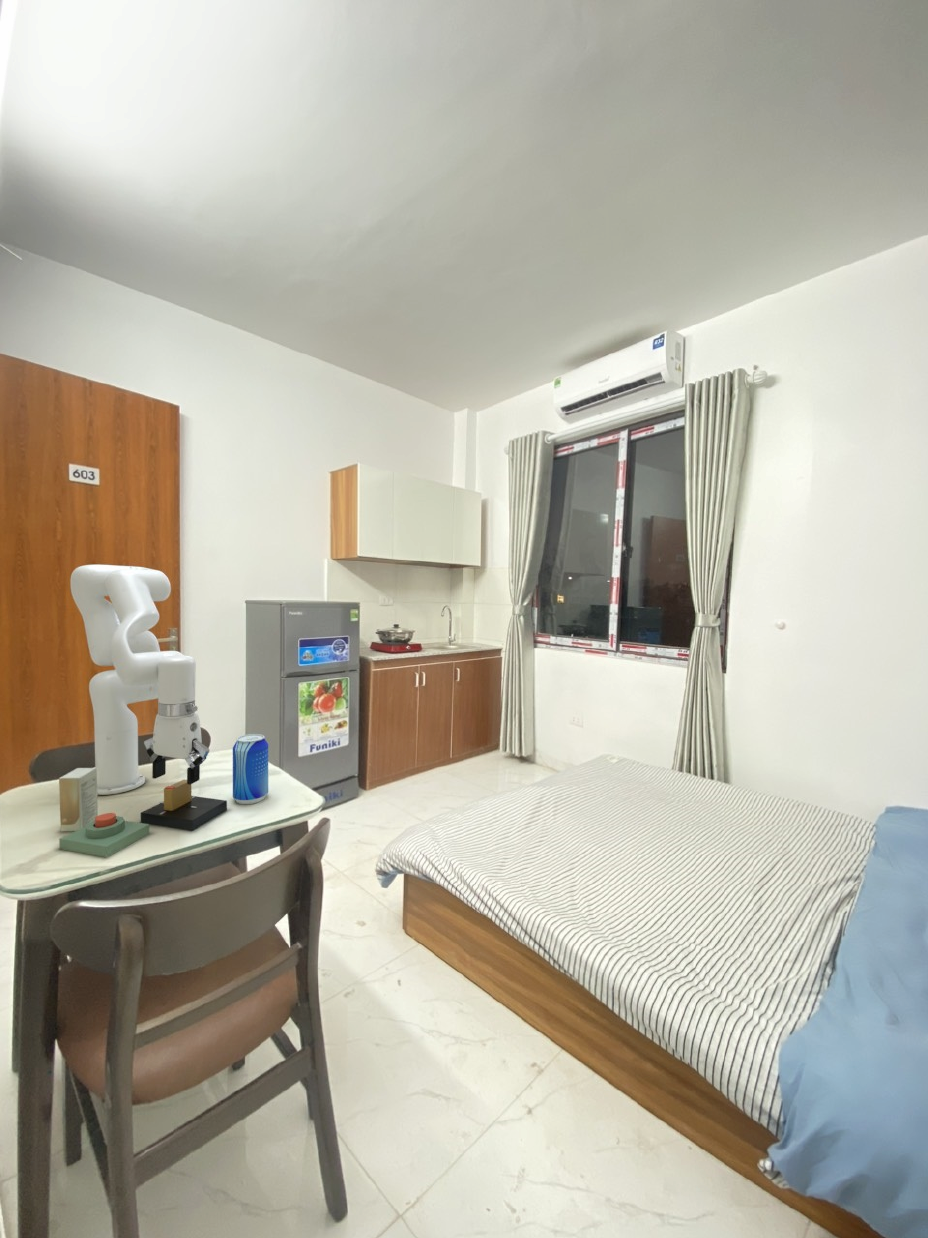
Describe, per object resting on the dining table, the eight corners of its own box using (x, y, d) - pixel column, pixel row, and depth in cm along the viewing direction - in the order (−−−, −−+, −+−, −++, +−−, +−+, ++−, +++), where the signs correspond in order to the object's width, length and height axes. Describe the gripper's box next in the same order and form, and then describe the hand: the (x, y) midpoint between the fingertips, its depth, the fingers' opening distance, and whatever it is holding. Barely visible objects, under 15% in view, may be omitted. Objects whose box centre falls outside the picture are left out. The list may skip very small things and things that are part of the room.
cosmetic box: (79, 819, 114) (78, 767, 114) (99, 818, 115) (98, 767, 114) (58, 832, 108) (57, 777, 107) (79, 832, 108) (78, 777, 108)
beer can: (255, 807, 122) (255, 743, 122) (225, 803, 124) (225, 740, 123) (274, 794, 131) (274, 734, 130) (246, 790, 132) (246, 731, 131)
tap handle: (183, 799, 120) (183, 778, 120) (191, 800, 120) (191, 779, 119) (163, 810, 114) (163, 787, 114) (171, 811, 114) (171, 788, 113)
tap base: (140, 823, 113) (140, 812, 113) (178, 803, 124) (178, 793, 123) (192, 831, 110) (192, 819, 109) (227, 810, 120) (227, 799, 120)
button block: (59, 849, 101) (58, 830, 101) (105, 827, 111) (104, 809, 111) (106, 857, 98) (106, 838, 98) (149, 834, 108) (149, 816, 108)
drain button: (90, 827, 103) (90, 819, 103) (106, 819, 107) (106, 812, 106) (104, 829, 102) (104, 821, 102) (120, 822, 106) (120, 814, 106)
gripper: (219, 708, 117) (218, 778, 119) (159, 701, 121) (158, 769, 123) (195, 716, 110) (194, 791, 111) (132, 708, 114) (132, 780, 115)
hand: (176, 779), depth 117 cm, fingers open, 9 cm apart
